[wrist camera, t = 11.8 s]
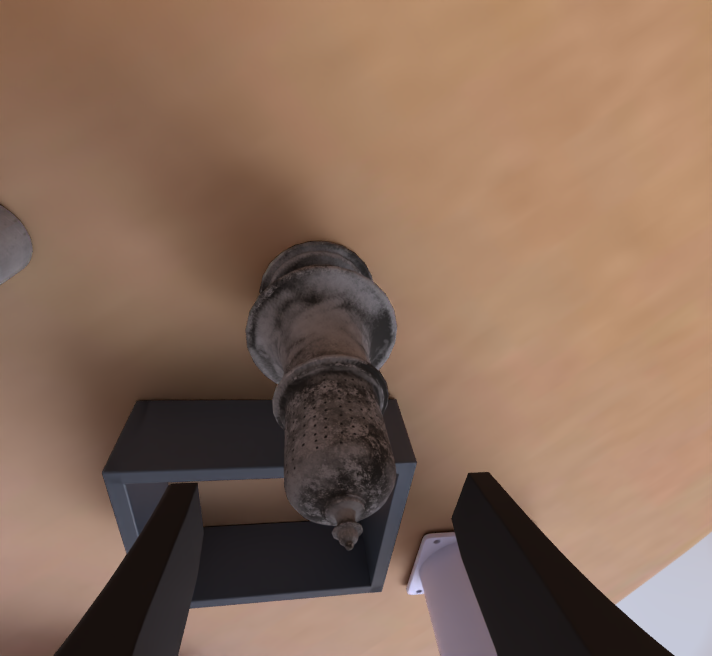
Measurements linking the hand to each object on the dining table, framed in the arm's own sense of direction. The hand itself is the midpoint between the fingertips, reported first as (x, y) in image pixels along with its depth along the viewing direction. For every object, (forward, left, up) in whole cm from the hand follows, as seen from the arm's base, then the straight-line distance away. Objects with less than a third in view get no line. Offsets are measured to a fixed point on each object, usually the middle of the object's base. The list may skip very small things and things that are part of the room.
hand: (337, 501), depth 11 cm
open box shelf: (+2, +11, -10) cm, 15 cm away
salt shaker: (0, -1, -10) cm, 10 cm away
